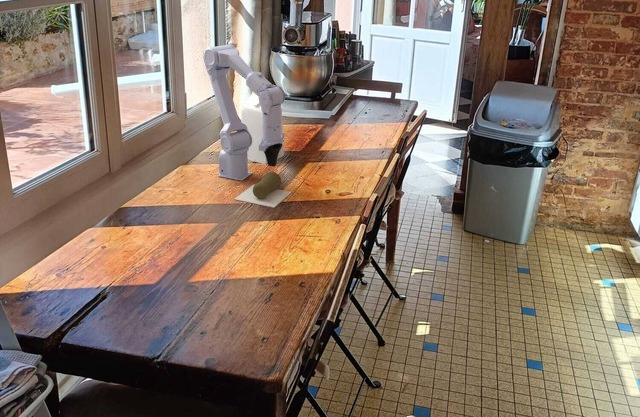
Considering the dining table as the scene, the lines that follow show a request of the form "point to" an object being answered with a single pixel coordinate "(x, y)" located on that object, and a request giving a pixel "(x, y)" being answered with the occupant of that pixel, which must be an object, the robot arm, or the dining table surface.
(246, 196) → the mat
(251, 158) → the milk
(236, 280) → the dining table surface
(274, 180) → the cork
